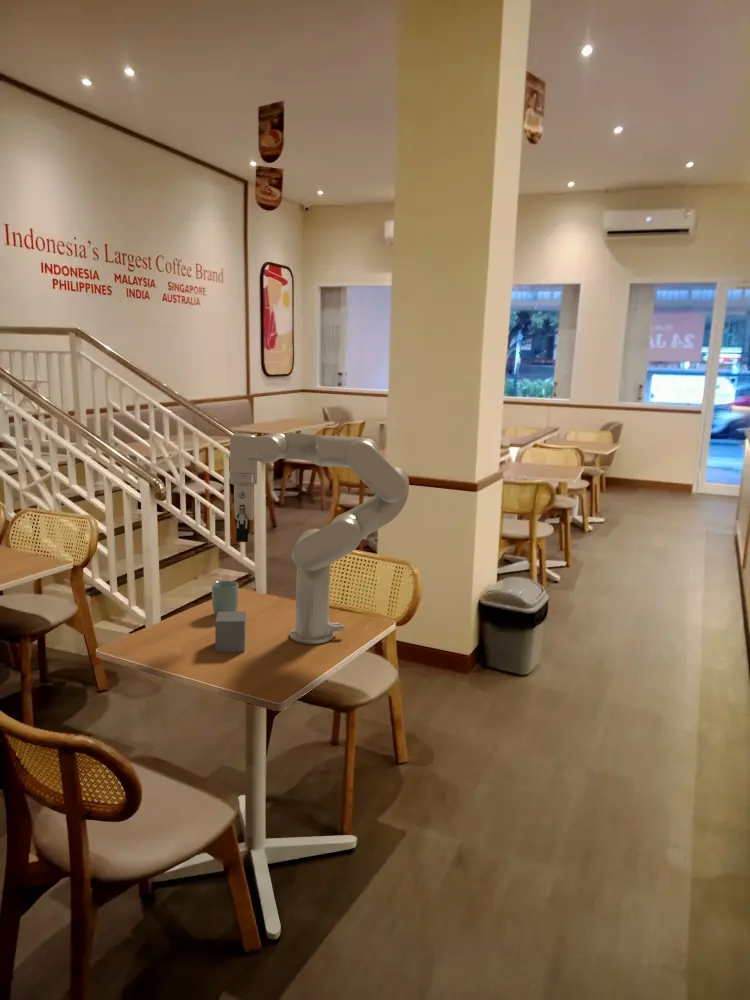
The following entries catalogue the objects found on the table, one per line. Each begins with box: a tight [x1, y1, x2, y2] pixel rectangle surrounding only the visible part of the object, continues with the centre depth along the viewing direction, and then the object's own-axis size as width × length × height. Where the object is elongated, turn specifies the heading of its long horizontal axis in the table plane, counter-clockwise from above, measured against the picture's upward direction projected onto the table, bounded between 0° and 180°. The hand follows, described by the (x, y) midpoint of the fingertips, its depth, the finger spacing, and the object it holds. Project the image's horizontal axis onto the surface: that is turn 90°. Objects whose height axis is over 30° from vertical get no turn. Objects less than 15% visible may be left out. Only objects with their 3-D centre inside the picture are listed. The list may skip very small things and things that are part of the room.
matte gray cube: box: [214, 610, 247, 653], centre depth 195 cm, size 8×8×9 cm
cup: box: [211, 580, 239, 616], centre depth 219 cm, size 8×8×10 cm
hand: (243, 537), depth 202 cm, fingers open, 9 cm apart
